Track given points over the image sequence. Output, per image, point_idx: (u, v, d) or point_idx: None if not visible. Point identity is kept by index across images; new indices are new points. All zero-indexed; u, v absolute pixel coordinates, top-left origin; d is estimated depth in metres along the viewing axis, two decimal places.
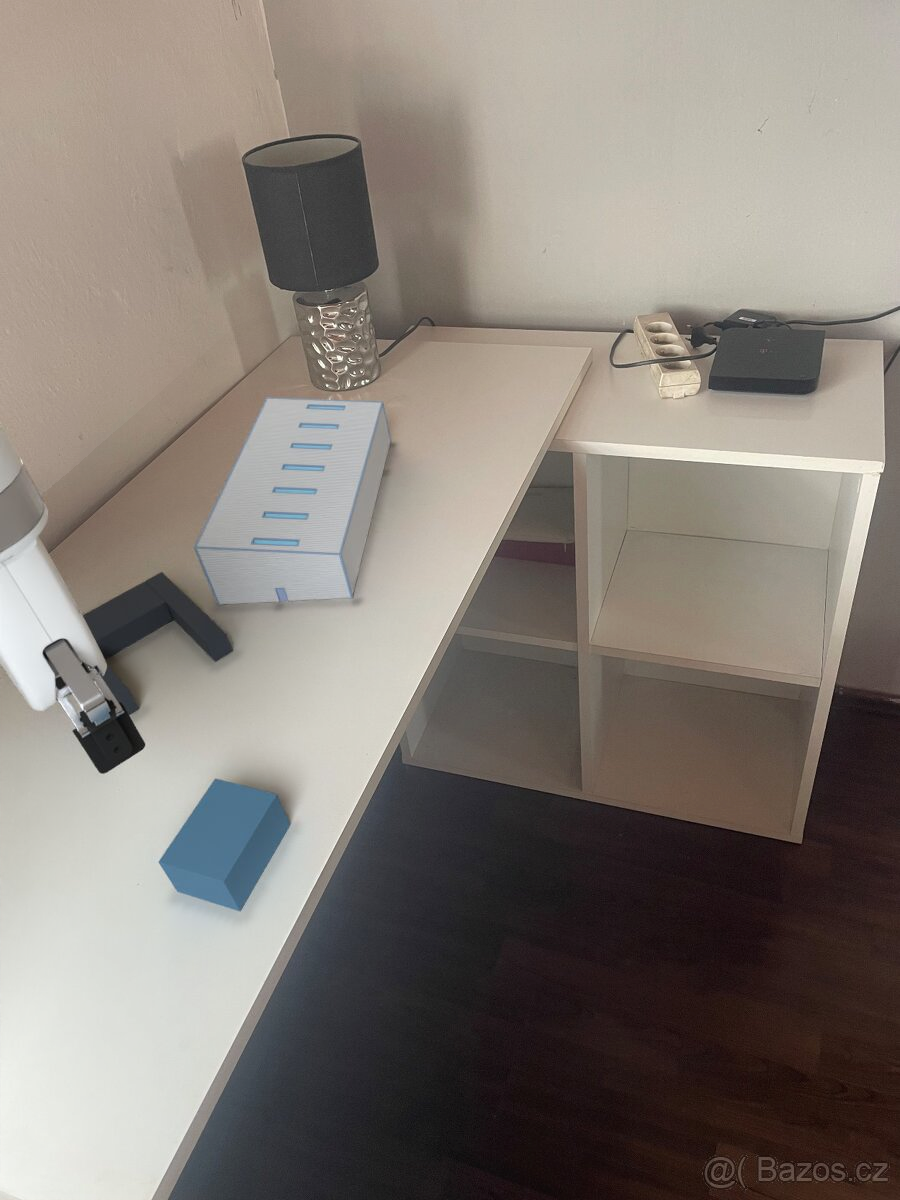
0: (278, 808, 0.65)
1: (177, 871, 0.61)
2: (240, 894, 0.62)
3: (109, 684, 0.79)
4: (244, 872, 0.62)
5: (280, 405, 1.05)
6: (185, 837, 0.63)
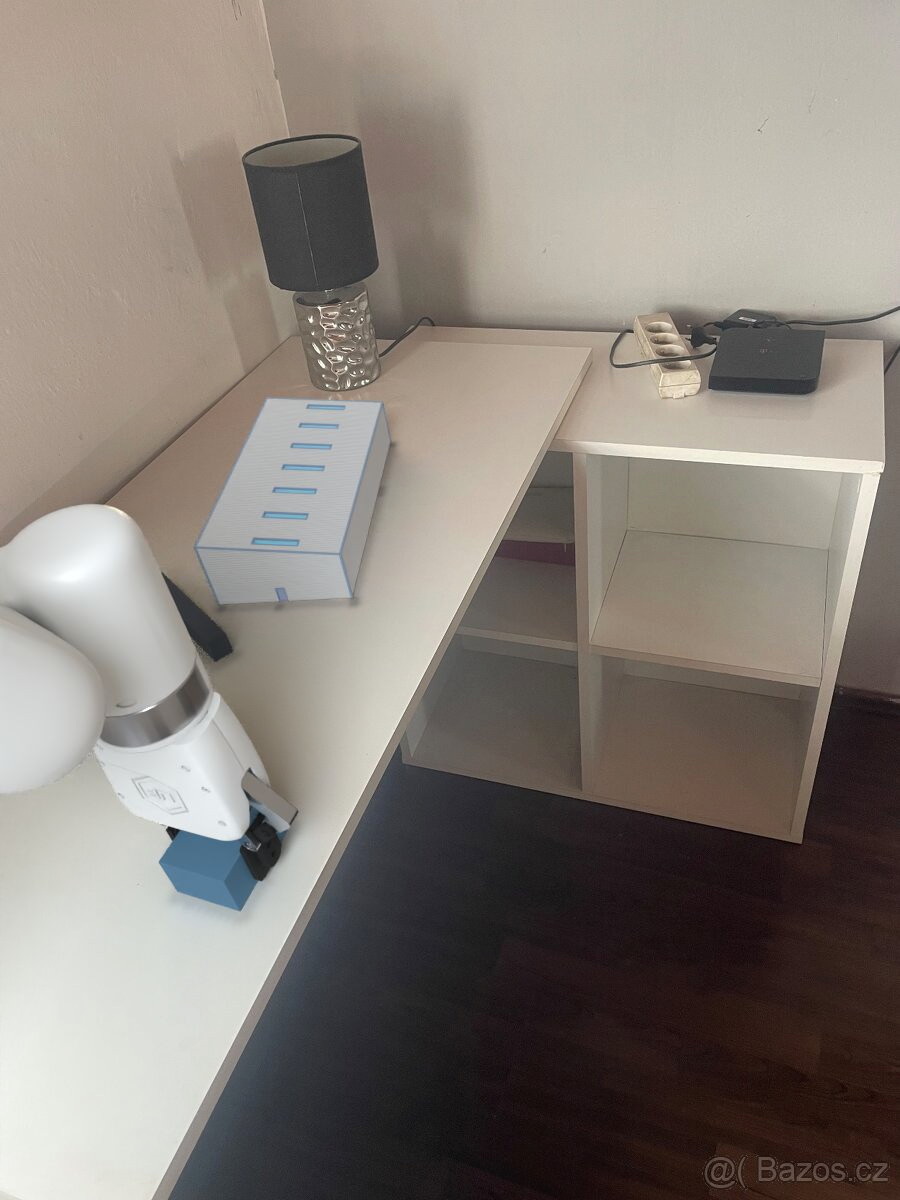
0: None
1: (177, 871, 0.61)
2: (240, 894, 0.62)
3: None
4: (244, 872, 0.62)
5: (280, 405, 1.05)
6: (185, 837, 0.63)
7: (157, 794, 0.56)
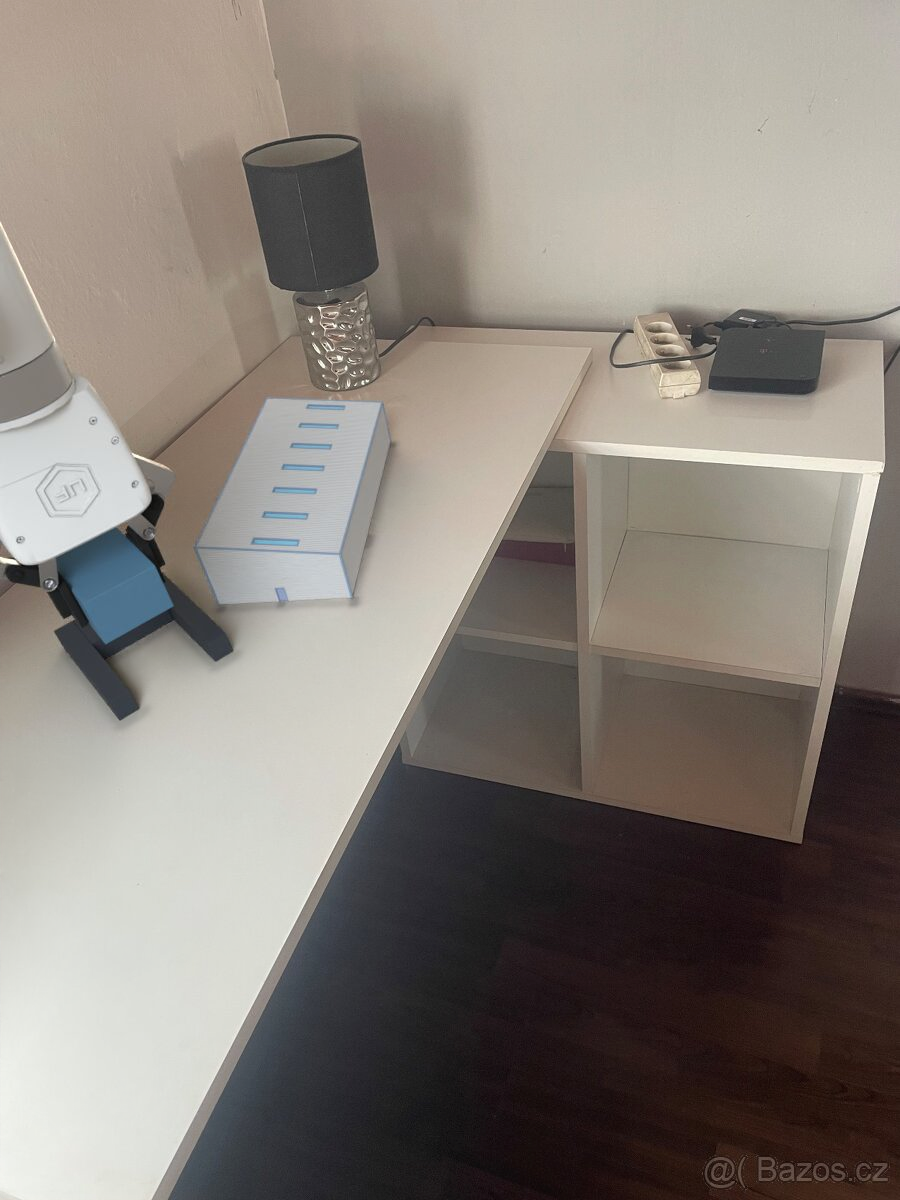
0: None
1: (106, 599, 0.61)
2: None
3: (109, 684, 0.79)
4: None
5: (280, 405, 1.05)
6: (81, 584, 0.62)
7: (66, 491, 0.57)
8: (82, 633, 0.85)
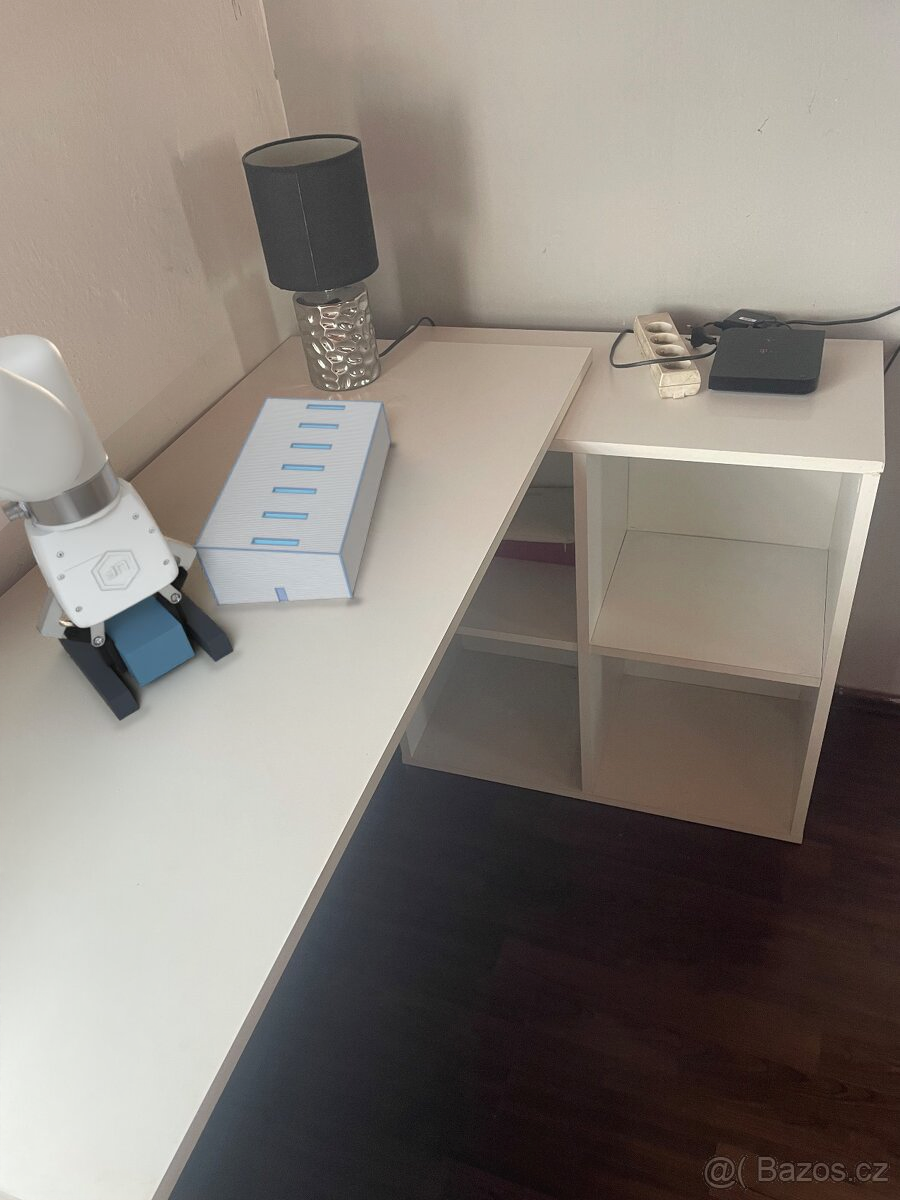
0: None
1: (142, 652, 0.78)
2: None
3: (109, 684, 0.79)
4: None
5: (280, 405, 1.05)
6: (122, 639, 0.78)
7: (114, 570, 0.73)
8: None
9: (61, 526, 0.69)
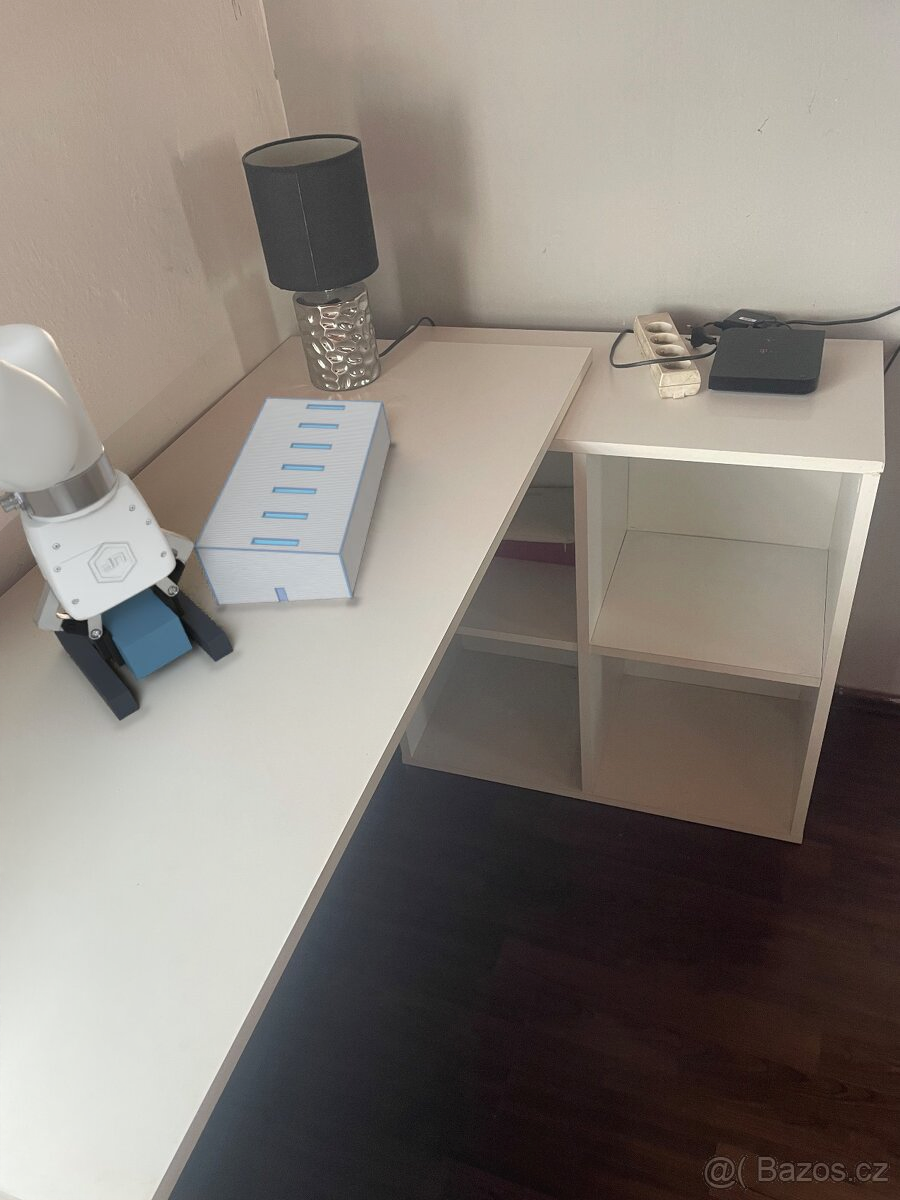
0: None
1: (139, 645, 0.77)
2: None
3: (109, 684, 0.79)
4: None
5: (280, 405, 1.05)
6: (119, 632, 0.78)
7: (111, 562, 0.73)
8: None
9: (57, 517, 0.68)
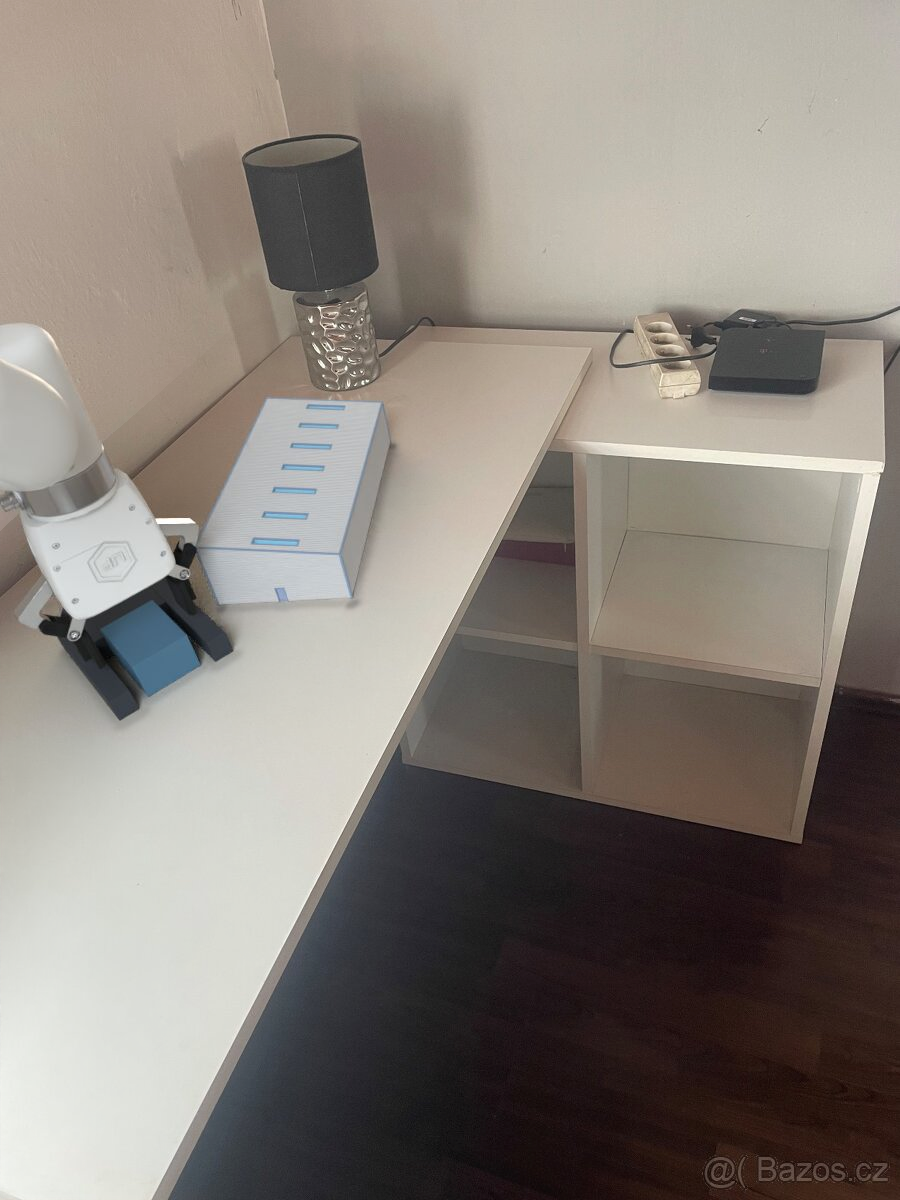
0: None
1: (149, 662, 0.79)
2: None
3: (109, 684, 0.79)
4: None
5: (280, 405, 1.05)
6: (129, 650, 0.79)
7: (111, 562, 0.73)
8: None
9: (57, 517, 0.68)
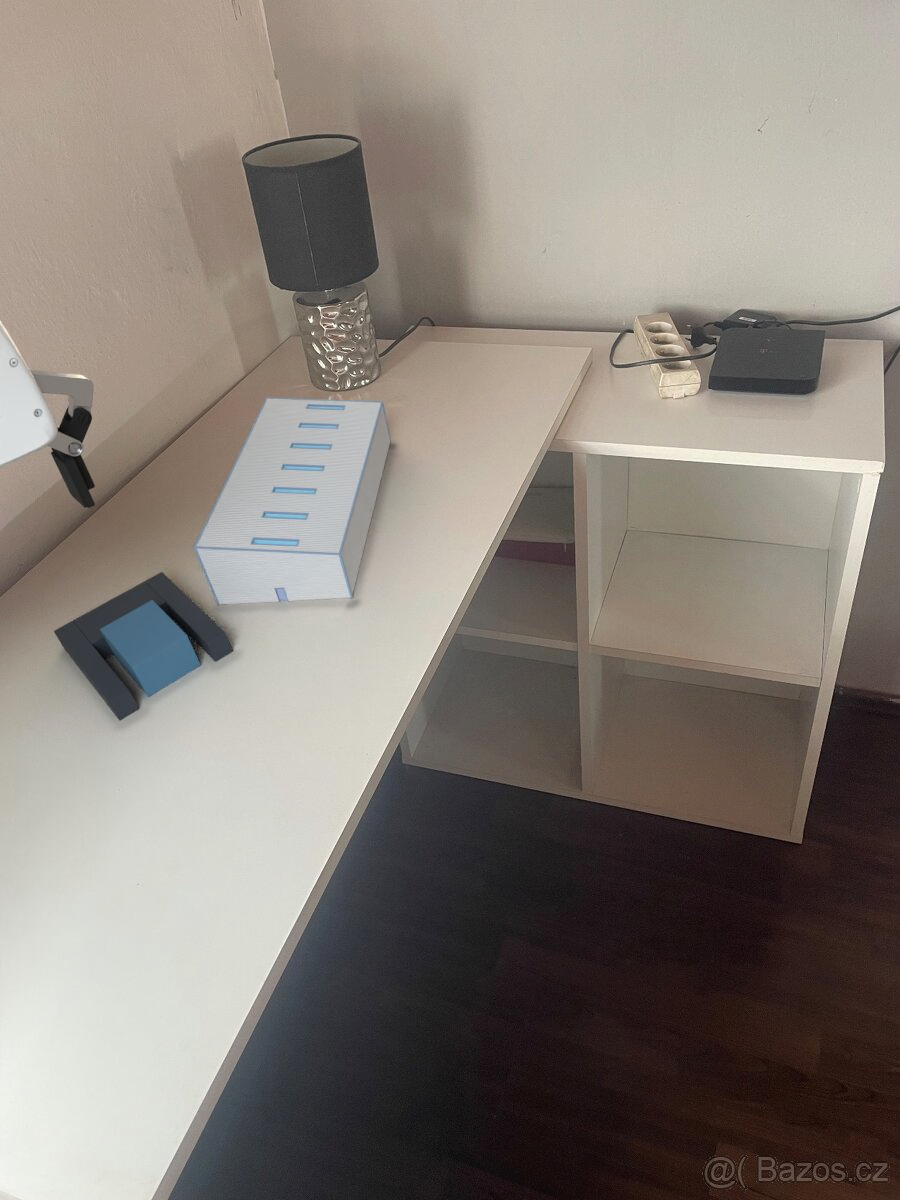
0: None
1: (149, 662, 0.79)
2: None
3: (109, 684, 0.79)
4: None
5: (280, 405, 1.05)
6: (129, 650, 0.79)
7: None
8: (82, 633, 0.85)
9: None
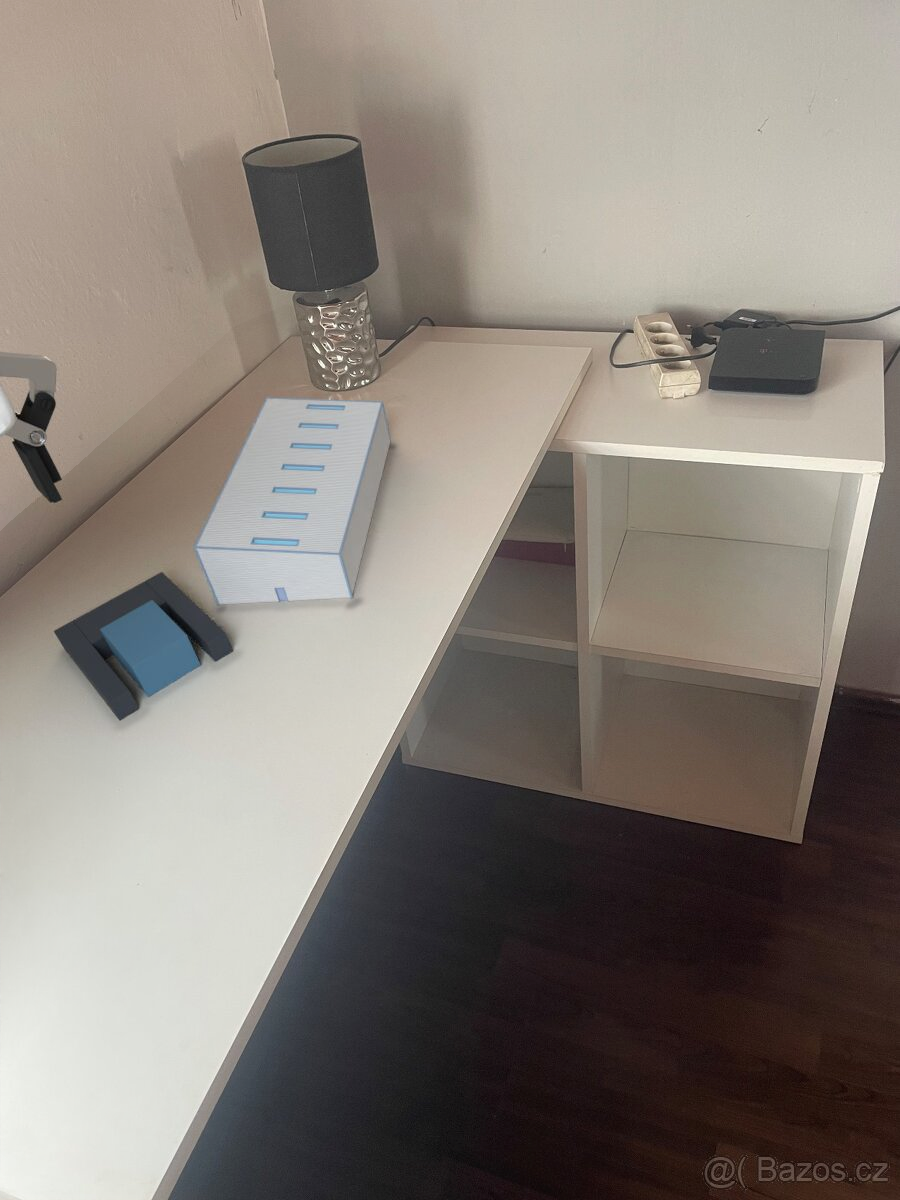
0: None
1: (149, 662, 0.79)
2: None
3: (109, 684, 0.79)
4: None
5: (280, 405, 1.05)
6: (129, 650, 0.79)
7: None
8: (82, 633, 0.85)
9: None
